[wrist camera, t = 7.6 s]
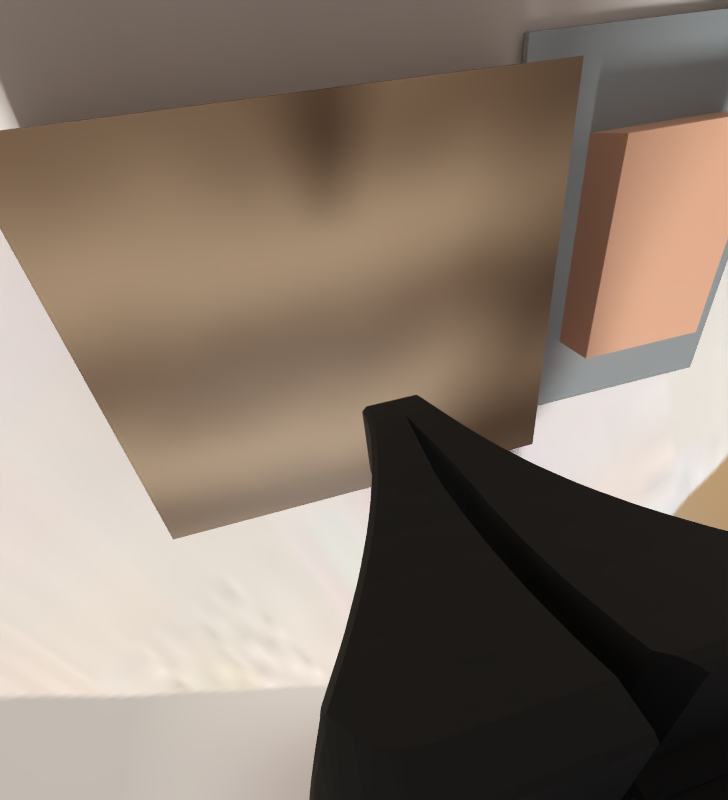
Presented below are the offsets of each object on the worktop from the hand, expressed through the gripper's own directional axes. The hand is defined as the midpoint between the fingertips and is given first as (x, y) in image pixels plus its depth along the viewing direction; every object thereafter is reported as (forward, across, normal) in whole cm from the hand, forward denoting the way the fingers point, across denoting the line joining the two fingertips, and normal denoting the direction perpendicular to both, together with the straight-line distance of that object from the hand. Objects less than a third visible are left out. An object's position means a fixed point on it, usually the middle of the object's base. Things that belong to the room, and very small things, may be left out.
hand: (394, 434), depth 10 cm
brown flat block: (+9, 0, 0) cm, 9 cm away
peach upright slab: (+7, -14, 0) cm, 16 cm away
